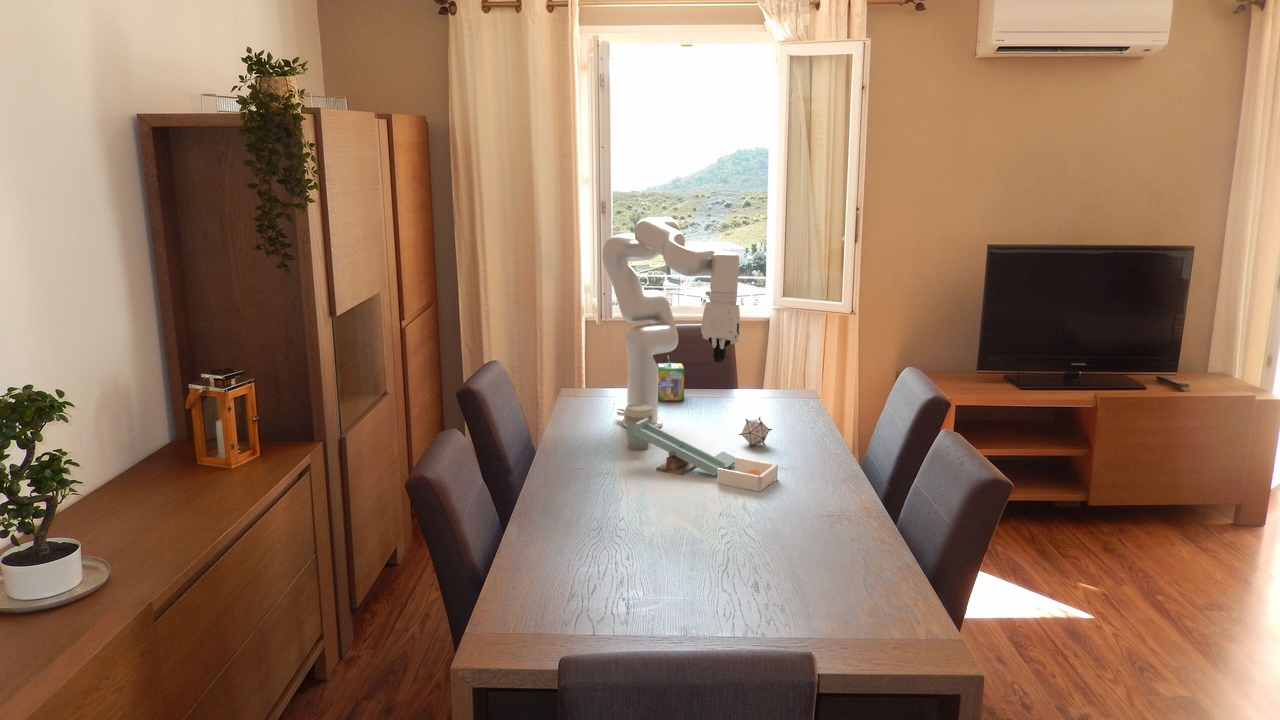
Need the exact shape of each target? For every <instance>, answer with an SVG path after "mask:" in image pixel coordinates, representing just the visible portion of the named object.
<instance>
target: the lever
mask: <svg viewBox="0 0 1280 720" xmlns="http://www.w3.org/2000/svg"><path fill="white" fill-rule="evenodd" d="M648 420H649V419H648V418H645V419H643V420H641V421H639V422H637V423H636V424H635V427H634V431H633V434H634V435H636V436H638V437H640V438H642V439H644V440H646V441H648V442H649V444H652V445H654V446H656V447H658V448H659V449H661V450H663V451H665V452H667V453H668V457H669V456H673V455H675V456H677V457H679V458H681V459H682V460H684V461H686V462H688V463H690V464H692V465H694V466H696V467H695V468H698V469H699V470H700V469H701V470H702V471H704V472H706V473H707V474H710V475H712V476H713V477H715V476H716V475H718V468H721V469H727V470H729V469H730V468H731V467H733V466H734V464H735V457H736V456H733V455H732V454H730V453H728V452H726V451H723V450H722V451H720V452H719V453H717V454H716V455H712V454H710V453H707V452H706V451H704V450H702V449H700V448H698V447H696V446H695V445H694V446H693V445H692V444H690V443H688V442H686V441H684V440H682V439H680V438H678V437H676V436H675V435H672V434H671V433H668V432H666V431H665V430H663V429H660V427H659V428H657V427H655V426H653V425H651V424H649V423H648Z"/></svg>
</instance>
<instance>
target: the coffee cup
mask: <svg viewBox="0 0 1280 720" xmlns="http://www.w3.org/2000/svg"><path fill="white" fill-rule="evenodd" d="M624 409H625V412H624V414H625V417H626V427H625V428H626V435H627V443H628V444H627V445H628V448H629V449H630V450H635V451H637V450H638V451H641V450H646V449H648V448H649V447H650V442H648V441H646V440H644V439H642V438H640V437H638V436H636V435H634V434H633V431H634V427H635V424H636V423H637V422H639V421H641V420H643V419H645V418H648V419H649V420H648V423H649V424H652V417H653V415H654V413H653V409H652V406H650V405H647V404H630V405H626V406H625V408H624Z"/></svg>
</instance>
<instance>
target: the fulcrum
mask: <svg viewBox="0 0 1280 720" xmlns="http://www.w3.org/2000/svg"><path fill="white" fill-rule="evenodd" d="M696 468H697V467H696V466H694V465H692V464H690V463H688V462H686V461H684V460H682V459H681V458H679V457H677V456H675V455H673V456H669V455H668V457H667V456H666V462H665V461H664V462H663V463H661V464H660V465H659V466H657V467H655V470H656V471H660V472H664V473H665V472H666V473H669V474H675V475H679V476H684V475H685V474H687V473H688V472H690V471H692V470H694V469H696Z"/></svg>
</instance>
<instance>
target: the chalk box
mask: <svg viewBox="0 0 1280 720" xmlns="http://www.w3.org/2000/svg"><path fill="white" fill-rule="evenodd" d="M666 356H667V360H668V362H664V363H663V362H659V363H657V362H656V364H657V366H658V402H662V401H665V402H666V401H669V402H670V401H684V400H685V367H684V365H683V363H681V362H680V363H677V362H671V361H670V356H669V355H668V354H667V355H666Z"/></svg>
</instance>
